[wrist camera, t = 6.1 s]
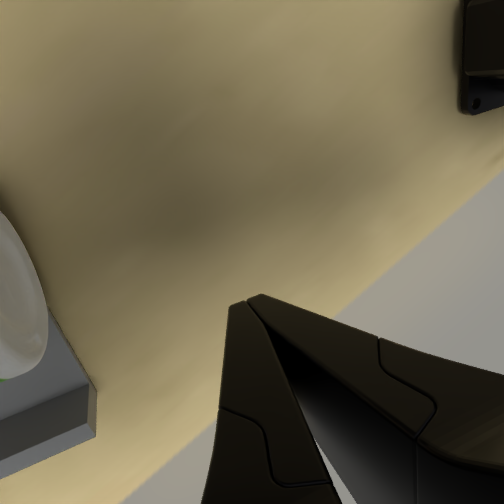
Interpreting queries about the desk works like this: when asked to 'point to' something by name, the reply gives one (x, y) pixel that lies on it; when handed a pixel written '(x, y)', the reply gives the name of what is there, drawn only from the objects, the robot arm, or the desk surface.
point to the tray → (46, 407)
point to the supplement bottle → (19, 307)
